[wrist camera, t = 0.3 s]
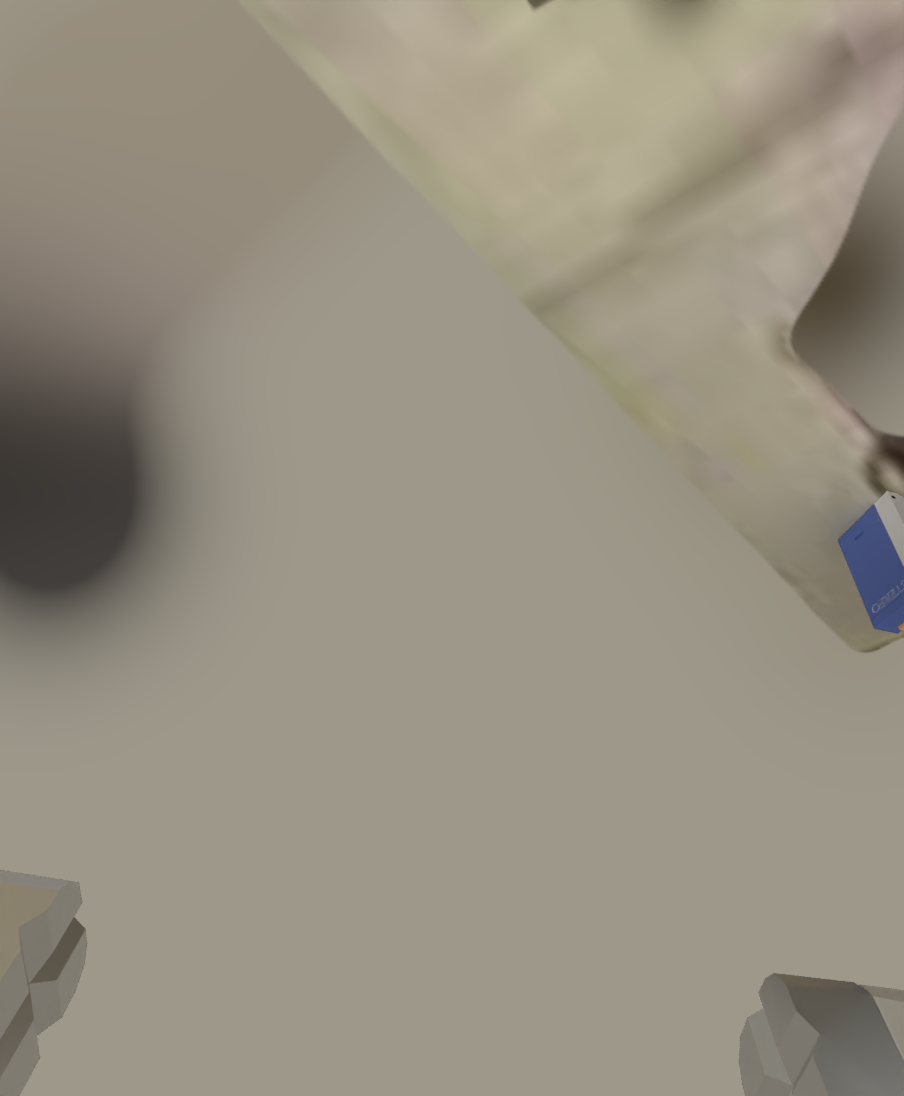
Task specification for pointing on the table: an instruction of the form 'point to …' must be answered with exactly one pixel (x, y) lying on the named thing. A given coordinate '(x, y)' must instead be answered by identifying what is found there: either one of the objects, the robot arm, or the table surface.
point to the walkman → (879, 561)
